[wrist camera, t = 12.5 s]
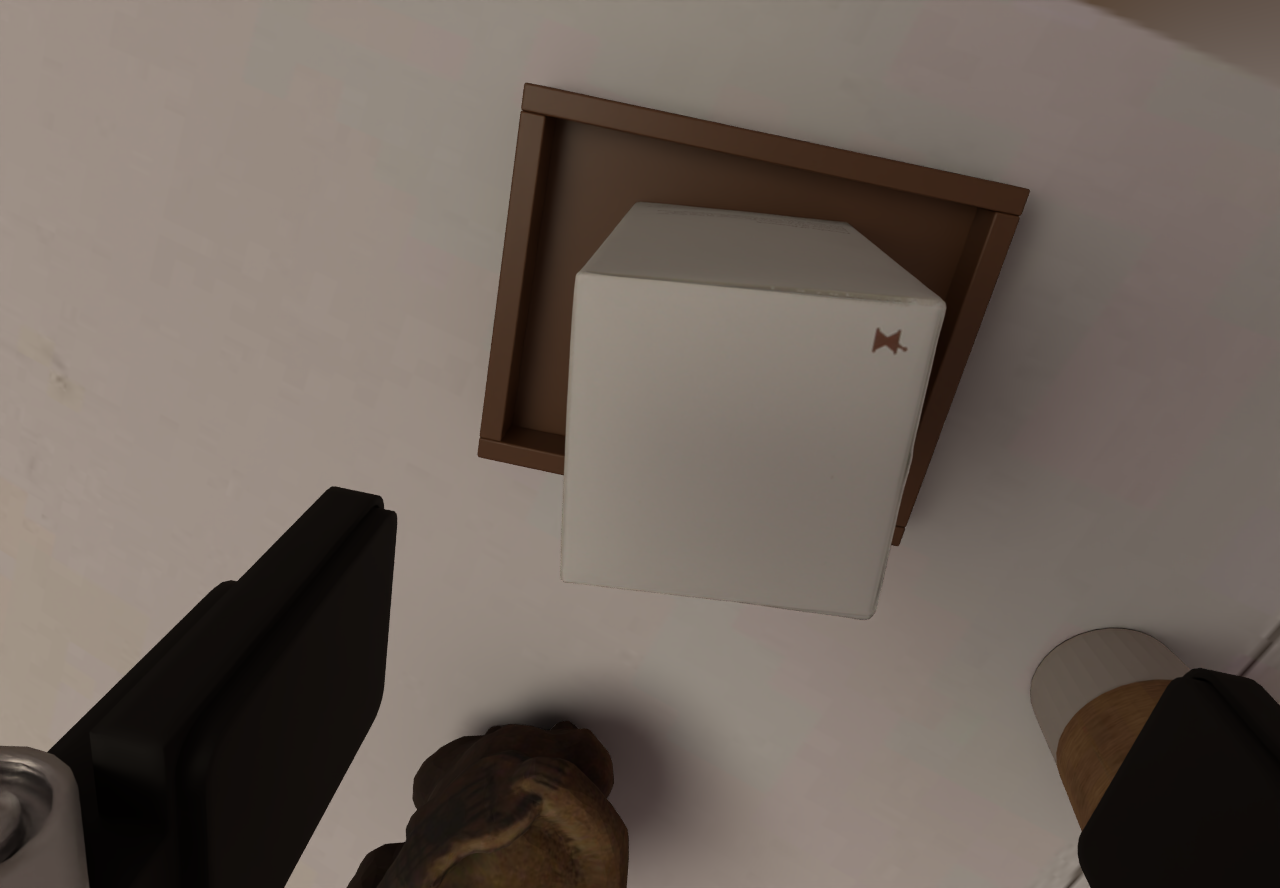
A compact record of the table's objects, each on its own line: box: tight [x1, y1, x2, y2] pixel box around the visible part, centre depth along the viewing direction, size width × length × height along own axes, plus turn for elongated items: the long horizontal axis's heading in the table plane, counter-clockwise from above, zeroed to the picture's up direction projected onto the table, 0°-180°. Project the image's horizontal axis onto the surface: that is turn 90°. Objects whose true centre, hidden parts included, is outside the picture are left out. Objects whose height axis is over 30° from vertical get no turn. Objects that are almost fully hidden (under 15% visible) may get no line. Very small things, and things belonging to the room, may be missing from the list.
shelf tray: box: [477, 83, 1030, 546], centre depth 28 cm, size 13×16×3 cm
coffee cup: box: [1030, 628, 1190, 831], centre depth 27 cm, size 8×8×15 cm
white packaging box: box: [560, 202, 946, 620], centre depth 22 cm, size 7×7×13 cm
